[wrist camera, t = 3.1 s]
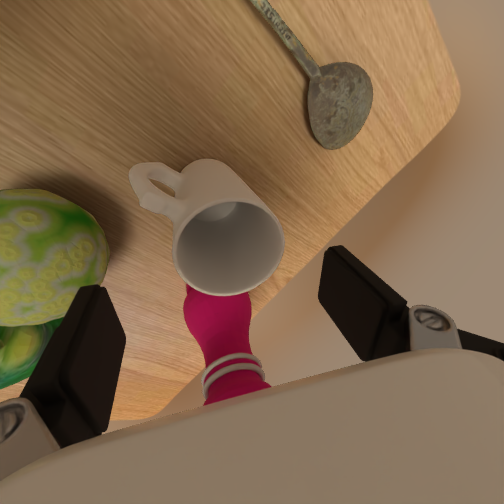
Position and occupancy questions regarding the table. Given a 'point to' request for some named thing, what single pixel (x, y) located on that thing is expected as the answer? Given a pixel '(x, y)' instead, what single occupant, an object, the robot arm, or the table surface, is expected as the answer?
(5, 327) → the toy
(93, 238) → the decorative ball
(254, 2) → the soupspoon
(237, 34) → the table surface
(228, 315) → the pepper mill
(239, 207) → the mug
